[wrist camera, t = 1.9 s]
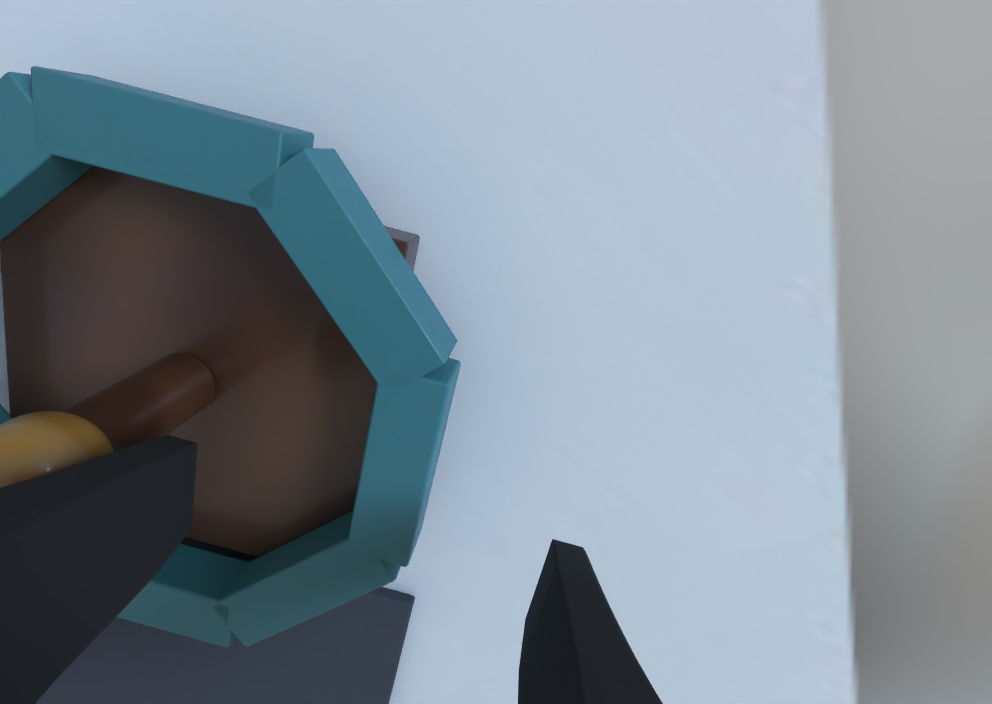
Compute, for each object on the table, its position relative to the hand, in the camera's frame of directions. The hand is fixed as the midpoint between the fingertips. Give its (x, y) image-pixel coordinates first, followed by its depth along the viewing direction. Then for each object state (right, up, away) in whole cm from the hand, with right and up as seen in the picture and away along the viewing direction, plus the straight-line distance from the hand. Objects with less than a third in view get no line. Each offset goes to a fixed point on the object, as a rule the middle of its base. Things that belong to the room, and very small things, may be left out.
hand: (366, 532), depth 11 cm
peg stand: (-5, +3, +5) cm, 8 cm away
